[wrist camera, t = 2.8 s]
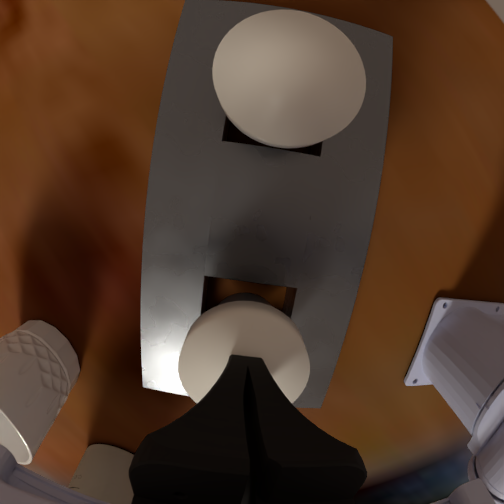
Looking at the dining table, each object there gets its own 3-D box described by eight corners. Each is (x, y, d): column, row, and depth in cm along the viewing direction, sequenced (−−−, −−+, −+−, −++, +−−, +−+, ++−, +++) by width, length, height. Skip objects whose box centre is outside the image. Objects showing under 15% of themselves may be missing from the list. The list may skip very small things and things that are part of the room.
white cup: (36, 385, 22) (-14, 449, 12) (6, 312, 20) (-65, 365, 10) (99, 392, 22) (51, 476, 12) (67, 310, 20) (-12, 381, 10)
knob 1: (336, 66, 14) (369, 29, 9) (324, 163, 15) (357, 159, 10) (232, 48, 13) (226, 1, 9) (215, 146, 15) (200, 132, 10)
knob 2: (303, 282, 17) (324, 324, 12) (283, 366, 18) (294, 423, 13) (199, 268, 16) (180, 306, 11) (192, 355, 18) (176, 410, 13)
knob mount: (374, 52, 16) (392, 36, 13) (312, 382, 21) (320, 408, 19) (193, 21, 15) (185, -1, 12) (153, 362, 21) (142, 387, 18)
